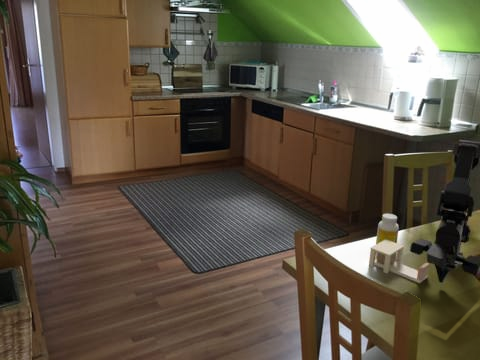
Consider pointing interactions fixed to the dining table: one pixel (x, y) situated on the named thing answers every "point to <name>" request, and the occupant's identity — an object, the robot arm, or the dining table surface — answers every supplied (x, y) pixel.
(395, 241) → the supplement bottle
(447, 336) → the dining table surface
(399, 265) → the sled
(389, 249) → the small table
